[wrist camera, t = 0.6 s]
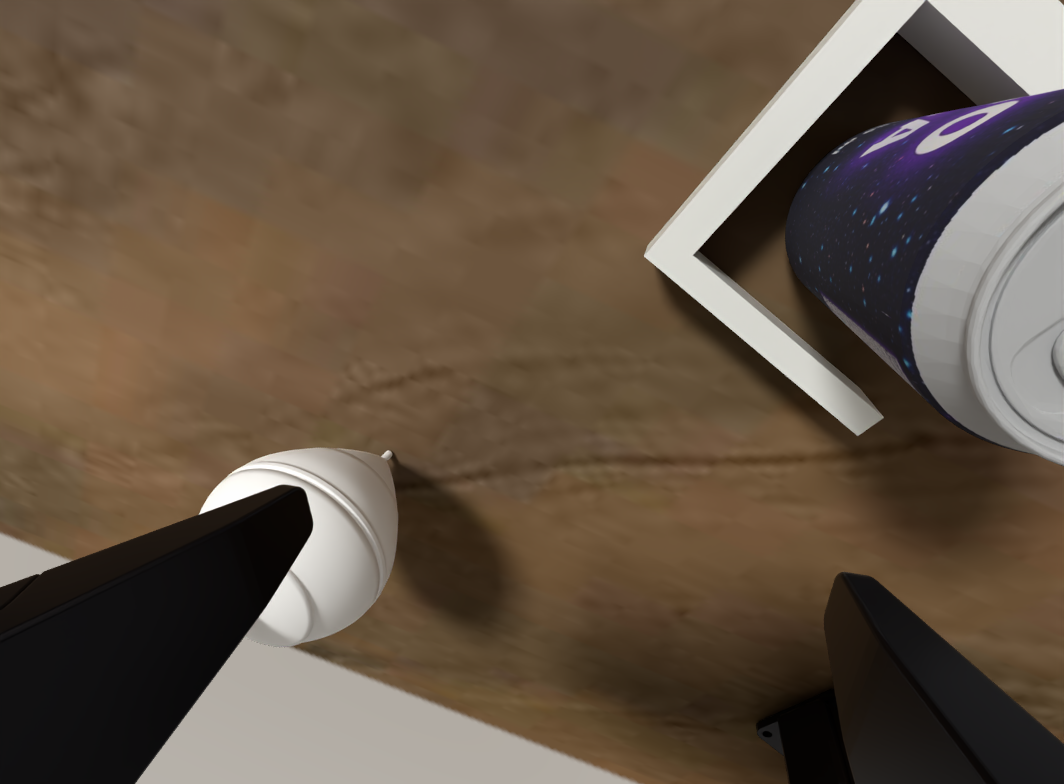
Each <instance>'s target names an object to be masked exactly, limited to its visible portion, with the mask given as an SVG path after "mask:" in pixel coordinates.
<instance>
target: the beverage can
mask: <svg viewBox="0 0 1064 784" xmlns="http://www.w3.org/2000/svg"><path fill="white" fill-rule="evenodd" d="M785 243H786V250H787V255H788V258H789V261H790V264H791V266H792V268H793V270H794V272H795V274H796V275H797V277H798V278H799V280H800V281H801V282H802V283H803V284H804V285H805V286H806V287H807V288H808V289H809V290H810V291H811V292H812V293H813V294H814V295H815V296H816V297H817V298H818V299H819V300H820V301H821V302H822V303H824V304H825V305H826V306H827V307H828V308H829V309H830V310H831V311H832V312H833V313H834V314H835V315H836V316H837V317H838V318H839V319H840V320H842V321H843V322H844V323H845V324H846V325H847V326H848V327H849V328H850V329H851V330H852V331H853V332H854V333H855V334H856V335H857V336H858V337H860V338H861V339H862V340H863V341H864V342H865V343H866V344H867V345H868V346H869V347H870V348H871V349H872V350H873V351H874V352H875V353H876V354H878V355H879V356H880V357H881V358H882V359H883V360H884V361H885V362H886V363H887V364H888V365H889V366H890V367H891V368H892V369H893V370H894V371H896V372H897V373H898V374H899V375H900V376H901V377H902V378H903V379H904V380H905V381H906V382H907V383H908V384H909V385H910V386H911V387H912V388H914V389H915V390H916V391H917V392H918V393H919V394H920V395H921V396H922V397H923V398H924V399H925V400H926V401H927V402H928V403H929V404H930V405H932V406H933V407H934V408H935V409H936V410H937V411H938V412H939V413H940V414H941V415H943V416H944V417H945V418H946V419H947V420H949V421H950V422H952V423H953V424H954V425H956V426H957V427H959V428H961V429H962V430H964V431H966V432H967V433H969V434H971V435H974V436H976V437H978V438H980V439H982V440H985V441H987V442H990V443H992V444H995V445H998V446H1001V447H1004V448H1008V449H1012V450H1016V451H1020V452H1025V453H1030V454H1036V455H1038V456H1040V457H1042V458H1044V459H1046V460H1049V461H1052V462H1054V463H1057V464H1059V465H1062V466H1064V89H1060V90H1055V91H1050V92H1045V93H1040V94H1035V95H1030V96H1025V97H1019V98H1014V99H1009V100H1004V101H999V102H994V103H989V104H984V105H979V106H973V107H968V108H963V109H958V110H953V111H948V112H943V113H938V114H933V115H927V116H922V117H917V118H912V119H907V120H902V121H897V122H892V123H887V124H883V125H880V126H876V127H873V128H871V129H868V130H866V131H863V132H861V133H859V134H857V135H855V136H853V137H851V138H849V139H848V140H846V141H845V142H843V143H841V144H840V145H839V146H837V147H836V148H834V149H833V150H832V151H831V152H829V153H828V154H827V155H826V156H825V157H824V158H823V159H822V160H820V162H819V163H818V164H817V165H816V166H815V167H814V168H813V169H812V170H811V172H810V173H809V174H808V175H807V177H806V178H805V179H804V181H803V183H802V184H801V186H800V187H799V189H798V191H797V193H796V195H795V197H794V199H793V202H792V204H791V207H790V210H789V213H788V217H787V222H786V231H785Z"/></svg>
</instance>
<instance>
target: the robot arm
mask: <svg viewBox="0 0 1064 784" xmlns="http://www.w3.org/2000/svg"><path fill="white" fill-rule="evenodd" d="M312 531H313V518H312V514H311V510H310V506H309V502H308V498H307V494H306V492H305V490H304V489H303V488H301V487H299V486H292V485H285V484H283V485H278V486H275V487H272V488H270V489H267V490H264V491H262V492H259V493H256V494H253V495H251V496H248V497H245V498H243V499H240V500H237V501H234V502H232V503H229V504H226V505H223V506H221V507H218V508H215V509H213V510H210V511H207V512H204V513H202V514H199V515H196V516H194V517H191V518H188V519H185V520H183V521H180V522H177V523H175V524H172V525H169V526H166V527H164V528H161V529H158V530H156V531H153V532H150V533H147V534H145V535H142V536H139V537H136V538H134V539H131V540H128V541H126V542H123V543H120V544H117V545H115V546H112V547H109V548H107V549H104V550H101V551H98V552H96V553H93V554H90V555H88V556H85V557H82V558H79V559H77V560H74V561H71V562H69V563H66V564H63V565H61V566H58V567H55V568H53V569H50V570H47V571H44V572H43V573H42V574H41V575H39V574H36V575H33V576H30V577H28V578H25V579H22V580H19V581H17V582H14V583H11V584H8V585H6V586H3V587H0V784H135V783H136V782H137V780H138V779H139V778H140V776H141V775H142V774H143V772H144V771H145V770H146V768H147V767H148V766H149V764H150V763H151V762H152V760H153V759H154V758H155V756H156V755H157V753H158V752H159V751H160V750H161V748H162V747H163V745H164V744H165V743H166V741H167V740H168V739H169V737H170V736H171V735H172V733H173V732H174V731H175V729H176V728H177V727H178V725H179V724H180V723H181V721H182V720H183V719H184V717H185V716H186V715H187V713H188V712H189V710H190V709H191V708H192V707H193V705H194V704H195V703H196V701H197V700H198V698H199V697H200V696H201V694H202V693H203V692H204V690H205V689H206V687H207V686H208V685H209V684H210V682H211V681H212V680H213V678H214V677H215V676H216V674H217V673H218V672H219V670H220V669H221V668H222V666H223V665H224V664H225V662H226V661H227V659H228V658H229V657H230V655H231V654H232V653H233V651H234V650H235V649H236V647H237V646H238V645H239V643H240V642H241V641H242V639H243V638H244V637H245V635H246V634H247V633H248V631H249V630H250V629H251V627H252V626H253V625H254V623H255V622H256V621H257V619H258V618H259V616H260V615H261V614H262V612H263V611H264V609H265V608H266V606H267V605H268V603H269V602H270V600H271V599H272V597H273V596H274V594H275V592H276V591H277V589H278V588H279V586H280V584H281V583H282V581H283V579H284V578H285V576H286V575H287V573H288V571H289V570H290V568H291V566H292V565H293V563H294V562H295V560H296V558H297V557H298V555H299V554H300V552H301V550H302V549H303V547H304V545H305V544H306V542H307V541H308V539H309V537H310V535H311V533H312ZM824 630H825V636H826V642H827V648H828V654H829V660H830V666H831V672H832V678H833V684H834V689H831V690H829V691H827V692H825V693H822V694H820V695H818V696H816V697H813V698H811V699H809V700H807V701H804V702H802V703H800V704H798V705H795V706H793V707H791V708H789V709H786V710H784V711H782V712H780V713H777V714H775V715H773V716H771V717H768V718H766V719H764V720H761V721H759V722H758V723H757V724H756V729H757V734H758V736H759V737H760V738H761V739H762V740H764V741H765V742H766V743H768V744H769V745H770V746H771V747H773V748H774V749H775V750H777V751H778V752H779V753H780V754H782V755H783V756H784V760H785V765H786V771H787V776H788V782H789V784H1064V744H1063V743H1062V742H1061V741H1060V740H1059V739H1058V738H1056V737H1055V736H1054V735H1053V734H1052V733H1051V732H1050V731H1048V730H1047V729H1046V728H1045V727H1044V726H1043V725H1042V724H1040V723H1039V722H1038V721H1037V720H1036V719H1035V718H1034V717H1032V716H1031V715H1030V714H1029V713H1028V712H1027V711H1026V710H1024V709H1023V708H1022V707H1021V706H1020V705H1019V704H1018V703H1016V702H1015V701H1014V700H1013V699H1012V698H1011V697H1010V696H1008V695H1007V694H1006V693H1005V692H1004V691H1003V690H1002V689H1000V688H999V687H998V686H997V685H996V684H995V683H994V682H992V681H991V680H990V679H989V678H988V677H987V676H986V675H984V674H983V673H982V672H981V671H980V670H979V669H978V668H976V667H975V666H974V665H973V664H972V663H971V662H970V661H968V660H967V659H966V658H965V657H964V656H963V655H962V654H960V653H959V652H958V651H957V650H956V649H955V648H954V647H952V646H951V645H950V644H949V643H948V642H947V641H945V640H944V639H943V638H942V637H941V636H940V635H939V634H937V633H936V632H935V631H934V630H933V629H932V628H931V627H929V626H928V625H927V624H926V623H925V622H924V621H923V620H921V619H920V618H919V617H918V616H917V615H916V614H915V613H913V612H912V611H911V610H910V609H909V608H908V607H907V606H905V605H904V604H903V603H902V602H901V601H900V600H899V599H897V598H896V597H895V596H894V595H893V594H892V593H891V592H889V591H888V590H887V589H886V588H885V587H884V586H883V585H881V584H880V583H879V582H878V581H877V580H875V579H874V578H872V577H870V576H867V575H861V574H854V573H848V572H841V573H839V574H838V575H837V576H836V578H835V580H834V583H833V587H832V590H831V593H830V597H829V600H828V603H827V607H826V610H825V615H824Z"/></svg>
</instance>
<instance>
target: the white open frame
mask: <svg viewBox="0 0 1064 784" xmlns="http://www.w3.org/2000/svg"><path fill="white" fill-rule="evenodd" d="M896 32H897V33H899V34H900V35H901V36H902V37H903V38H904V39H905V40H906V41H907V42H908V43H910V44H911V45H912V46H913V47H914V48H915V49H916V50H917V51H918V52H919V53H920V54H922V55H923V56H924V57H925V58H926V59H927V60H928V61H929V62H930V63H931V64H932V65H934V66H935V67H936V68H937V69H938V70H939V71H940V72H941V73H942V74H943V75H944V76H946V77H947V78H948V79H949V80H950V81H951V82H952V83H953V84H954V85H955V86H956V87H958V88H959V89H960V90H961V91H962V92H963V93H964V94H965V95H966V96H967V97H969V98H970V99H971V100H972V101H973V102H974V103H975V104H976V105H977V106H979V105H984V104H989V103H994V102H999V101H1004V100H1009V99H1014V98H1019V97H1025V96H1030V95H1035V94H1040V93H1045V92H1050V91H1055V90H1060V89H1064V5H1063V4H1062V3H1061V2H1060V1H1058V0H856V1H855V2H854V3H853V4H852V5H851V7H850V8H849V9H848V10H847V11H846V12H845V14H844V15H843V16H842V17H841V18H840V19H839V21H838V22H837V23H836V24H835V25H834V27H833V28H832V29H831V30H830V31H829V32H828V34H827V35H826V36H825V37H824V38H823V39H822V41H821V42H820V43H819V44H818V45H817V47H816V48H815V49H814V50H813V51H812V52H811V54H810V55H809V56H808V57H807V58H806V60H805V61H804V62H803V63H802V64H801V65H800V67H799V68H798V69H797V70H796V71H795V72H794V74H793V75H792V76H791V77H790V78H789V80H788V81H787V82H786V83H785V84H784V85H783V87H782V88H781V89H780V90H779V91H778V93H777V94H776V95H775V96H774V97H773V98H772V100H771V101H770V102H769V103H768V104H767V105H766V107H765V108H764V109H763V110H762V111H761V113H760V114H759V115H758V116H757V117H756V118H755V120H754V121H753V122H752V123H751V124H750V125H749V127H748V128H747V129H746V130H745V131H744V133H743V134H742V135H741V136H740V137H739V138H738V140H737V141H736V142H735V143H734V144H733V146H732V147H731V148H730V149H729V150H728V151H727V153H726V154H725V155H724V156H723V157H722V158H721V160H720V161H719V162H718V163H717V164H716V166H715V167H714V168H713V169H712V170H711V171H710V173H709V174H708V175H707V176H706V177H705V179H704V180H703V181H702V182H701V183H700V184H699V186H698V187H697V188H696V189H695V190H694V191H693V193H692V194H691V195H690V196H689V197H688V199H687V200H686V201H685V202H684V203H683V204H682V206H681V207H680V208H679V209H678V210H677V211H676V213H675V214H674V215H673V216H672V217H671V219H670V220H669V221H668V222H667V223H666V224H665V226H664V227H663V228H662V229H661V230H660V232H659V233H658V234H657V235H656V236H655V237H654V239H653V240H652V241H651V242H650V243H649V244H648V246H647V249H646V252H645V254H644V257H646V258H647V259H648V260H649V261H650V262H652V263H653V264H654V265H655V266H656V267H657V268H659V269H660V270H661V271H662V272H663V273H665V274H666V275H667V276H668V277H669V278H671V279H672V280H673V281H674V282H675V283H676V284H678V285H679V286H680V287H681V288H682V289H684V290H685V291H686V292H687V293H688V294H690V295H691V296H692V297H693V298H694V299H695V300H697V301H698V302H699V303H700V304H701V305H703V306H704V307H705V308H706V309H707V310H709V311H710V312H711V313H712V314H713V315H714V316H716V317H717V318H718V319H719V320H720V321H722V322H723V323H724V324H725V325H726V326H728V327H729V328H730V329H731V330H732V331H733V332H735V333H736V334H737V335H738V336H739V337H741V338H742V339H743V340H744V341H745V342H747V343H748V344H749V345H750V346H751V347H752V348H754V349H755V350H756V351H757V352H758V353H760V354H761V355H762V356H763V357H764V358H766V359H767V360H768V361H769V362H770V363H771V364H773V365H774V366H775V367H776V368H777V369H779V370H780V371H781V372H782V373H783V374H785V375H786V376H787V377H788V378H789V379H790V380H792V381H793V382H794V383H795V384H796V385H798V386H799V387H800V388H801V389H802V390H804V391H805V392H806V393H807V394H808V395H809V396H811V397H812V398H813V399H814V400H815V401H817V402H818V403H819V404H820V405H821V406H823V407H824V408H825V409H826V410H827V411H828V412H830V413H831V414H832V415H833V416H834V417H836V418H837V419H838V420H839V421H840V422H842V423H843V424H844V425H845V426H846V427H847V428H849V429H850V430H851V431H852V432H853V433H855V434H856V435H857V436H859V435H860V434H862V433H863V432H864V431H866V430H867V429H869V428H870V427H872V426H873V425H874V424H876V423H877V422H879V421H880V420H881V419H883V418H884V417H883V416H882V414H881V413H880V412H879V411H878V410H877V408H876V407H875V406H874V405H873V403H872V402H871V401H870V400H869V399H868V397H867V396H866V395H865V394H864V393H863V391H862V390H861V389H860V388H859V387H858V386H857V385H856V384H854V383H853V382H852V381H851V380H850V379H849V378H847V377H846V376H845V375H844V374H843V373H842V372H840V371H839V370H838V369H837V368H836V367H834V366H833V365H832V364H831V363H830V362H829V361H827V360H826V359H825V358H824V357H823V356H822V355H820V354H819V353H818V352H817V351H816V350H814V349H813V348H812V347H811V346H810V345H809V344H807V343H806V342H805V341H804V340H803V339H802V338H800V337H799V336H798V335H797V334H796V333H794V332H793V331H792V330H791V329H790V328H789V327H787V326H786V325H785V324H784V323H783V322H782V321H780V320H779V319H778V318H777V317H776V316H774V315H773V314H772V313H771V312H770V311H769V310H767V309H766V308H765V307H764V306H763V305H762V304H760V303H759V302H758V301H757V300H756V299H755V298H753V297H752V296H751V295H750V294H749V293H747V292H746V291H745V290H744V289H743V288H742V287H740V286H739V285H738V284H737V283H736V282H735V281H733V280H732V279H731V278H730V277H729V276H727V275H726V274H725V273H724V272H723V271H722V270H720V269H719V268H718V267H717V266H716V265H715V264H713V263H712V262H711V261H710V260H709V259H707V258H706V257H705V256H704V255H703V254H702V253H700V252H699V251H698V249H699V248H700V247H701V246H702V245H703V244H704V243H705V241H706V240H707V239H708V238H709V237H710V236H711V235H712V234H713V233H714V232H715V231H716V229H717V228H718V227H719V226H720V225H721V224H722V223H723V222H724V221H725V220H726V218H727V217H728V216H729V215H730V214H731V213H732V212H733V211H734V210H735V209H736V208H737V206H738V205H739V204H740V203H741V202H742V201H743V200H744V199H745V198H746V197H747V195H748V194H749V193H750V192H751V191H752V190H753V189H754V188H755V187H756V186H757V185H758V183H759V182H760V181H761V180H762V179H763V178H764V177H765V176H766V175H767V174H768V172H769V171H770V170H771V169H772V168H773V167H774V166H775V165H776V164H777V163H778V162H779V160H780V159H781V158H782V157H783V156H784V155H785V154H786V153H787V152H788V151H789V149H790V148H791V147H792V146H793V145H794V144H795V143H796V142H797V141H798V140H799V139H800V137H801V136H802V135H803V134H804V133H805V132H806V131H807V130H808V129H809V128H810V126H811V125H812V124H813V123H814V122H815V121H816V120H817V119H818V118H819V117H820V116H821V114H822V113H823V112H824V111H825V110H826V109H827V108H828V107H829V106H830V105H831V103H832V102H833V101H834V100H835V99H836V98H837V97H838V96H839V95H840V94H841V93H842V91H843V90H844V89H845V88H846V87H847V86H848V85H849V84H850V83H851V82H852V80H853V79H854V78H855V77H856V76H857V75H858V74H859V73H860V72H861V71H862V70H863V68H864V67H865V66H866V65H867V64H868V63H869V62H870V61H871V60H872V59H873V57H874V56H875V55H876V54H877V53H878V52H879V51H880V50H881V49H882V48H883V47H884V45H885V44H886V43H887V42H888V41H889V40H890V39H891V38H892V37H893V36H894V34H895V33H896Z"/></svg>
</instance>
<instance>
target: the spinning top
mask: <svg viewBox="0 0 1064 784" xmlns="http://www.w3.org/2000/svg"><path fill="white" fill-rule="evenodd" d="M391 457H392V452H391V451H386V452H385V453H384V454H383V455H382V456H378V455H376V454H372V453H368V452H363V451H358V450H349V449H338V448H326V447H321V448H309V449H298V450H290V451H284V452H278V453H274V454H270V455H266V456H263V457H261V458H258V459H256V460H254V461H252V462H249V463H248V464H246V465H244V466H242V467H240V468H238V469H237V470H235V471H234V472H232V473H231V474H230V475H228V476H227V477H226V478H225V479H224V480H223V481H222V482H221V483H220V484H219V485H218V486H217V487H216V488H215V489H214V490H213V492H212V493H211V494H210V496H209V497H208V498H207V500H206V502H205V503H204V505H203V507H202V509H201V511H200V513H199V514H202V513H204V512H207V511H210V510H213V509H215V508H218V507H221V506H223V505H226V504H229V503H232V502H234V501H237V500H240V499H243V498H245V497H248V496H251V495H253V494H256V493H259V492H262V491H264V490H267V489H270V488H272V487H275V486H278V485H283V484H285V485H292V486H299V487H301V488H303V489H304V490H305V492H306V494H307V498H308V502H309V506H310V510H311V514H312V518H313V531H312V533H311V535H310V537H309V539H308V541H307V542H306V544H305V545H304V547H303V549H302V550H301V552H300V554H299V555H298V557H297V558H296V560H295V562H294V563H293V565H292V566H291V568H290V570H289V571H288V573H287V575H286V576H285V578H284V579H283V581H282V583H281V584H280V586H279V588H278V589H277V591H276V592H275V594H274V596H273V597H272V599H271V600H270V602H269V603H268V605H267V606H266V608H265V609H264V611H263V612H262V614H261V615H260V616H259V618H258V619H257V621H256V622H255V623H254V625H253V626H252V627H251V629H250V630H249V631H248V633H247V634H246V635H245V637H244V638H247V639H249V640H252V641H254V642H257V643H261V644H264V645H269V646H274V647H291V646H295V645H298V644H300V643H303V642H308V641H312V640H317V639H320V638H323V637H326V636H329V635H331V634H334V633H336V632H338V631H340V630H342V629H344V628H346V627H347V626H349V625H351V624H352V623H353V622H355V621H356V620H357V619H359V618H360V617H361V616H362V615H363V614H364V613H365V612H366V611H367V610H368V609H369V608H370V607H371V606H372V605H373V604H374V603H375V601H376V600H377V599H378V597H379V596H380V594H381V592H382V590H383V588H384V586H385V584H386V583H387V580H388V578H389V576H390V573H391V570H392V567H393V563H394V559H395V553H396V545H397V532H398V509H397V501H396V494H395V488H394V482H393V478H392V474H391V471H390V468H389V466H388V463H387V461H388V460H389V459H390V458H391ZM242 640H243V639H242Z"/></svg>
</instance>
